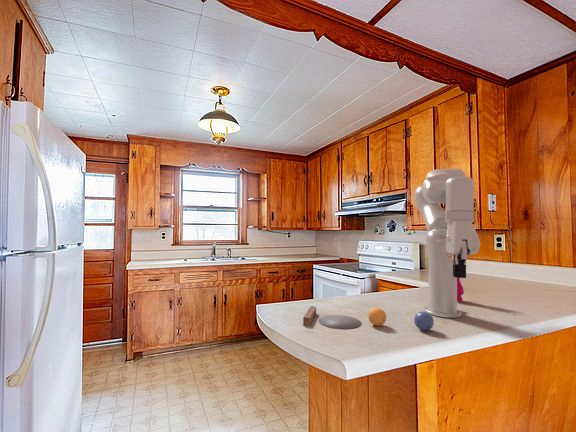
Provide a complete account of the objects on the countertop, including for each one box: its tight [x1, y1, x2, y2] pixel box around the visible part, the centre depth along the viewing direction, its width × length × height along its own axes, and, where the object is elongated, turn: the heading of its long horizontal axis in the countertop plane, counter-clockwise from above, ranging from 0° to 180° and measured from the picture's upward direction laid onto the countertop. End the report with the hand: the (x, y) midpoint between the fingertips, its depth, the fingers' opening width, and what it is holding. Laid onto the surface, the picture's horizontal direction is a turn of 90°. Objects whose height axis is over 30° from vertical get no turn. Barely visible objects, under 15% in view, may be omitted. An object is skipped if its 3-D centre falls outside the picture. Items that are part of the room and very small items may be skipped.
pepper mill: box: [451, 256, 465, 303], centre depth 132 cm, size 7×7×20 cm
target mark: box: [318, 314, 362, 330], centre depth 99 cm, size 14×14×1 cm
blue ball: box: [413, 311, 435, 331], centre depth 93 cm, size 6×6×6 cm
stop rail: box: [302, 305, 317, 327], centre depth 102 cm, size 2×14×2 cm, turn 166°
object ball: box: [367, 307, 387, 327], centre depth 96 cm, size 6×6×6 cm
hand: (459, 277), depth 91 cm, fingers closed
